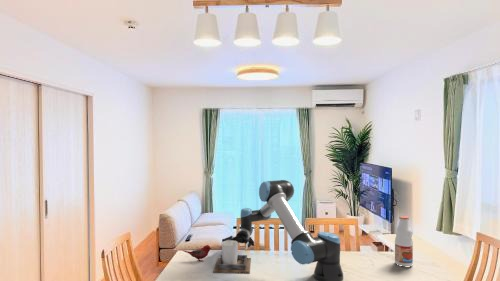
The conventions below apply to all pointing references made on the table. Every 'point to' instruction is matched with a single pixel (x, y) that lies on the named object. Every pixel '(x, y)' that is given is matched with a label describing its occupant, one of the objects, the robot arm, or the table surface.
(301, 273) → the table surface
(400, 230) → the fruit juice
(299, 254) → the robot arm
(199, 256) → the decorative bird figurine
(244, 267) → the brown square wooden tray
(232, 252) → the candle holder
